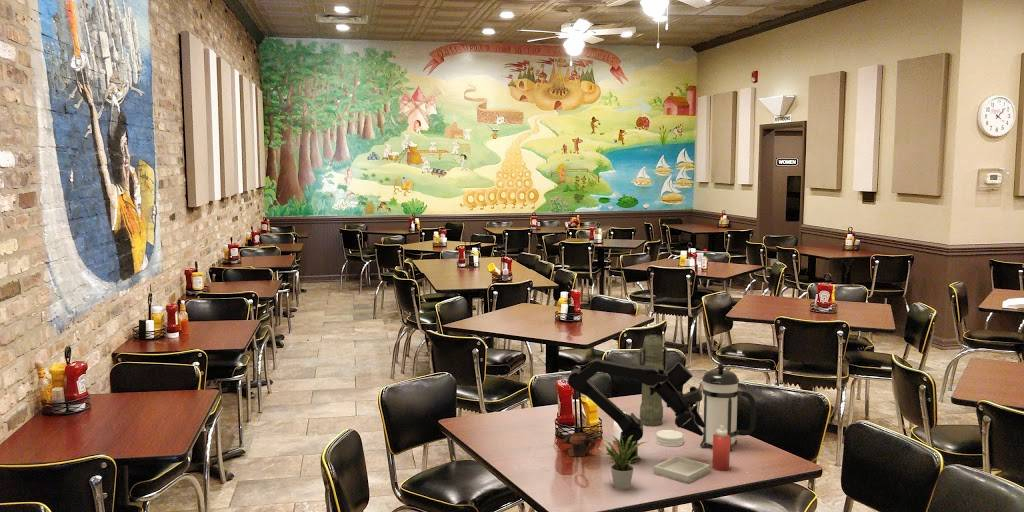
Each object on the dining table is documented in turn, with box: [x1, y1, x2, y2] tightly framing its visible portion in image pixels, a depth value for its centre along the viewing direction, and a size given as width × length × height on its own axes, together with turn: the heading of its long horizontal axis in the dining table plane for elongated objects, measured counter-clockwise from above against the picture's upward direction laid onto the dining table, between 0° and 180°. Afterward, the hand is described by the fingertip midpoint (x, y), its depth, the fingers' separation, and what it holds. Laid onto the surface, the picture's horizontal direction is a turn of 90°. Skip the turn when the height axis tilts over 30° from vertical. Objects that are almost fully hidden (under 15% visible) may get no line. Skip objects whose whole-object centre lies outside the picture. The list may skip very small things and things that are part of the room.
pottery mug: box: [562, 432, 596, 457], centre depth 296 cm, size 12×10×8 cm
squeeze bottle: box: [711, 425, 731, 472], centre depth 280 cm, size 6×6×15 cm
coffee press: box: [698, 363, 757, 452], centre depth 302 cm, size 17×16×30 cm
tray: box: [652, 455, 711, 484], centre depth 276 cm, size 14×13×2 cm
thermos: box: [637, 334, 668, 428], centre depth 329 cm, size 9×12×35 cm
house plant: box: [603, 435, 648, 490], centre depth 264 cm, size 14×14×16 cm
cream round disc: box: [655, 429, 685, 448], centre depth 307 cm, size 10×10×4 cm
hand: (703, 430), depth 281 cm, fingers open, 9 cm apart
